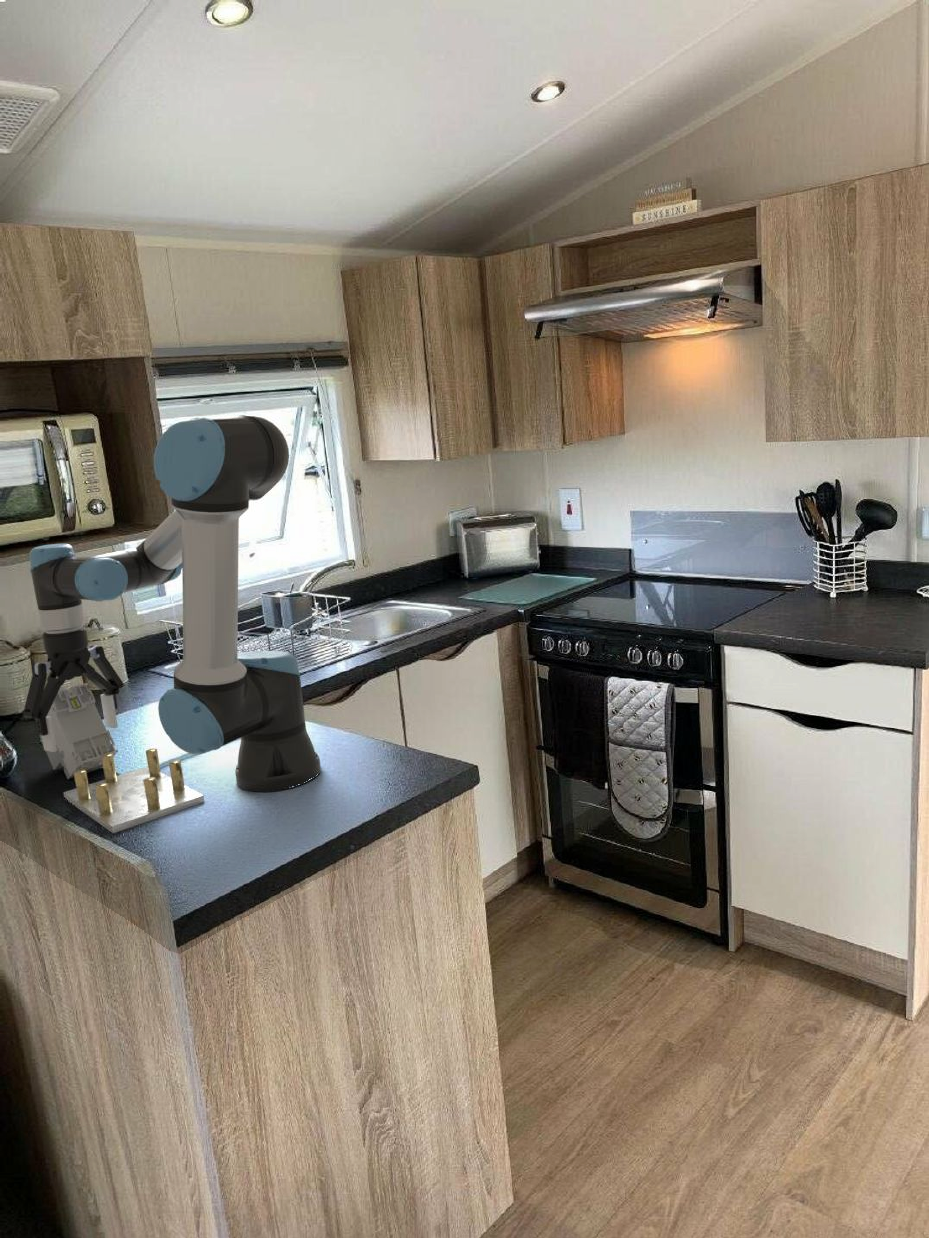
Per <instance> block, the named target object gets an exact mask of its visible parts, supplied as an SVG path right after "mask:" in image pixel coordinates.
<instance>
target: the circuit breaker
mask: <svg viewBox="0 0 929 1238" xmlns="http://www.w3.org/2000/svg"><path fill="white" fill-rule="evenodd" d="M87 685H89V684H88V682H84V683H82V684H76V685H74V686H70V687H69V688H68V689H67V688H66V687H65V688H63V689H59V691H58V693H57V695H56V698H55V700H54V702H53V704H52V706H51V708H50V710H49V712H48V714H47V716H50V717H51V718H52V724H53V729H54V735H55V741H56V747H57V751H55V752H50V751H45V752H46V755H47V757H48V759H49V762H50V765H51V767H52V769H53V770H54V771H55V770H58V769H62V768H63V771H64V774H65V776H66V779H67V780H70V779H72V778H75V777H74V772H75V771H78V770H86V773H87V774H89V773H90V772H91V773H92V772H93V771H97V770H100V769H102V768H101V767H103V764H102V758H101V756H102V755H104V754H110V753H111V754H113V758H114V757H115V756H116V754H117V753H119V750H118V749H116V748H115V745H116V744H115V741H114V739H113V737H112V735H111V732H110V730H109V729H107V727H105V723H104V722H103V719H102V718H101V714H100V712H99V711H98V708H97V706H96V704H95V703H96V702H97V701H96V698H95V696H94V694H93V692H92V690H91V689H89V688H88V686H87ZM39 738H40V741H41V743H42V744H43V740H42V735H39Z"/></svg>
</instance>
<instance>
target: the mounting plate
mask: <svg viewBox="0 0 929 1238" xmlns="http://www.w3.org/2000/svg"><path fill="white" fill-rule="evenodd" d="M145 754H146V763H147V766H144V767H142V768H138V769H134V770H132V771H129V772H125V773H121V774H118V775H117V772H116V765H115V759H114V757H113V754H111V753H110V754H104V755H102V756H101V758H102V764H103V768H102V769H103V775H104V779H103V780H99V781H96V782H92V783H90V784H89V781H88V780H89V779H88V773H86V770H78V771H75V772H74V777H73V778H74V782H75V788H73V789H70V790H66V791H64V792H63V793H62V794H63V797H65V798H66V799H67V800H68V802H69V803H70V804H71V803H72V804H71V805H72V806H74V805H75V806H74V807H75V808H77V809H78V810H80V811H81V812H83V813H84V814H86V815H87V816H88V817H90V818H91V819H92V820H93V821H95V822H97V823H98V824H99V825H101V826H102V827H104V828H105V829H106V830H108V831H109V832H111V833H112V834H115V833H118V832H121V831H124V830H128V829H130V828H133V827H136V826H138V825H141V824H145V823H147V822H150V821H153V820H156V819H159V818H162V817H165V816H168V815H170V814H173V813H176V812H179V811H181V810H184V809H188V808H192V807H193V806H196V805H201V804H202V803H205V797H204V795H203V794H202V793H200V792H198V791H197V790H194V789H193V788H191V787H189V786H187V785H186V784H185V779H184V773H183V767H182V760H179V759H177V760H171V761H169V762H168V766H169V771H170V772H169V773H170V776H169V775H167V774H165V773H163V772H161V765H160V761H159V752H158V748H149V749H147V750H145ZM66 799H65V800H66ZM67 800H66V801H67Z"/></svg>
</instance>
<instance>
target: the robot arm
mask: <svg viewBox="0 0 929 1238" xmlns="http://www.w3.org/2000/svg"><path fill="white" fill-rule="evenodd" d="M157 441H158V442H157V444H156V446H155V450H154V455H153V456H154V457H153V470H154V474H155V478H156V480H157V481H159V482H160V484H159V487H160V489H161V490H162V492H164V493H165V495H167V496H168V497H170V498H171V508H173V510H174V511H172V513H170V514H169V516H167V517H166V518H165V519H164V521H162V523H160V524H159V525H158V527H156V528H155V529H154V530H153V531H152V533H151V534H149V535H148V537H147V538H145V539H144V540H143V541H142V542H141V543H140V544H139V545H138V546H136V547H132V548H127V549H122V550H117V551H113V552H108V553H103V554H98V555H93V556H76V554H75V551H74V548H73V546H72V545H71V544H69V543H54V544H53V543H51V544H45V545H39V546H35V547H33V548H32V549H31V550H30V551H29V553H28V554H29V555H28V556H29V562H30V570H29V571H30V574H31V578H32V585H33V589H34V594H35V595H34V596H35V600H36V605H37V610H38V617H39V622H40V627H41V630H42V631H44V632H43V634H41V635H42V641H43V646H44V651H45V653H46V655H47V660H46V661H45V662H38V661H37V662H33V663H32V665H31V672H32V674H31V675H32V676H31V679H30V683H29V688H28V693H27V695H26V696H27V697H26V700H25V704H24V707H23V713H22V715H23V717H24V718H30V719H34V721H35V727H36V733H37V734H38V735H39V736H40V735H42V740H43V743H42V745H43V750H44V752H46V751H50V752H55V751H57V747H56V741H55V735H54V729H53V724H52V718H51V717H50V716H47V714H48V712H49V710H50V708H51V706H52V704H53V702H54V700H55V698H56V695H57V693H58V691H59V690H61V689H60V688H61V687H62V686H63V685H64V684H65V682H66V681H70V680H73V679H74V678H76V677H77V678H78V677H79V678H80V677H82V676H85V678H87V679H88V680H89V681H90V682H91V683H92V684H94V685H95V686H96V687H97V688H98V689H100V690H101V691H102V692H104V693H102V694H100V701H101V702H100V703H101V707H102V708H101V709H102V712H103V719H104V726H105V728H109V729H117V728H118V727H119V725H118V719H117V714H116V710H118V700H117V695H119V693H120V689H123V687H124V685H125V683H124V681H123V680H122V679H121V677H120V675H119V674H118V673H117V672H116V670H115V668H114V667H113V666H112V663H110V660H108V658H107V657H106V654H105V653H106V652H105V650H104V647H103V645H95V644H94V645H91V646H90V647H89V648H88V646H89V638H88V632H87V628H86V627H85V626H84V625H85V624H86V620H85V618H86V617H85V613H84V607H83V601H82V600H84V601H85V600H86V601H87V600H88V601H94V602H105V601H113V600H116V599H118V598H119V597H120V596H122V594H124V593H129V592H132V591H136V590H140V589H145V588H148V587H153V586H157V585H158V586H160V585H164V584H166V583H168V582H171V581H174V580H176V579H177V578H179V576H180V575H181V574H182V576H181V577H182V651H183V652H182V660H181V661H180V662H179V663H177V665H176V666H174V668H173V688H171V689H168V690H166V692H164V693H163V695H162V696H161V697H160V698H159V701H158V706H157V709H158V717H159V721H160V724H161V726H162V728H163V730H164V732H165V734H166V735H167V736H168V738H169V739H170V741H171V742H172V743H173V744H174V745H175V746H176V747H177V748H179V750H182V751H184V752H186V753H188V754H192V755H202V754H206V753H208V752H211V751H217V750H219V749H221V748H222V747H223V746H226V745H227V744H230V743H232V742H234V741H236V740H238V739H240V744H239V748H238V749H239V750H238V756H237V764H236V767H235V771H234V772H235V779H236V784H237V785H238V787H239V788H241V789H244V790H246V791H251V792H276V791H277V792H278V791H282V790H281V789H284V790H287V789H286V788H288V789H290V788H289V787H292V786H296V785H298V784H302V783H304V782H306V781H308V780H309V779H311V778H313V777H315V776H316V775H317V774H318V773H319V772H320V769H321V770H322V768H321V760H320V756H319V754H318V753H317V752H316V750H315V747H314V744H313V743H312V740H311V738H310V735H309V734H308V731H307V725H306V718H305V717H306V716H305V710H304V709H305V708H304V707H305V706H304V699H303V692H302V691H303V690H302V684H301V683H302V682H301V681H302V680H301V672H300V671H299V665H298V659H297V657H296V656H295V655H294V654H293V653H291V652H288V651H283V650H282V651H281V650H259V651H257V650H256V651H247V652H240V653H238V649H239V647H238V639H239V638H238V637H239V636H238V634H239V633H238V632H239V631H238V629H239V627H238V626H239V624H238V623H239V622H238V621H239V619H238V618H239V612H238V611H239V535H240V534H239V529H240V527H239V526H240V525H239V523H240V522H239V521H240V520H239V519H240V517H241V516H242V515H243V514H244V513H245V512H247V511H248V510H249V508H250V507H249V506H250V505H249V504H250V501H258V500H261V499H262V498H263V497H264V496H266V495H267V494H268V493H269V492H270V491H271V490H272V489H273V488H275V486H277V484H279V482H281V480H282V478H283V477H284V476H285V473H287V469H288V467H289V461H290V450H289V449H290V448H289V446H288V445H289V444H288V442H287V440H286V437H285V435H284V434H283V432H282V431H281V430H280V428H279V427H277V426H276V425H275V424H274V423H273V422H271V421H269V420H268V419H266V418H264V417H262V416H258V415H253V414H252V415H251V414H244V415H235V416H234V415H233V416H230V415H229V416H214V417H213V416H212V417H194V418H191V419H188V420H187V419H186V420H181V421H177V422H175V423H173V424H171V425H170V426H169V427H168V428H167V429H166V430H165V431H164V432H163V433H162V434H161V435H160V438H159V439H158V440H157ZM91 659H92V660H93V662H94V664H95V665H96V666H97V668H98V670H99V671H100V673H101V674H102V675H103V676H102V675H101V674H100V673H99V672H98V671H97V670H96V668H94V667H93V666H92V665H91V664H89V661H90V660H91ZM48 673H49V674H48ZM47 675H48V677H47ZM46 682H47V683H46ZM320 773H321V772H320ZM302 785H303V784H302ZM296 787H297V786H296Z"/></svg>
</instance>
